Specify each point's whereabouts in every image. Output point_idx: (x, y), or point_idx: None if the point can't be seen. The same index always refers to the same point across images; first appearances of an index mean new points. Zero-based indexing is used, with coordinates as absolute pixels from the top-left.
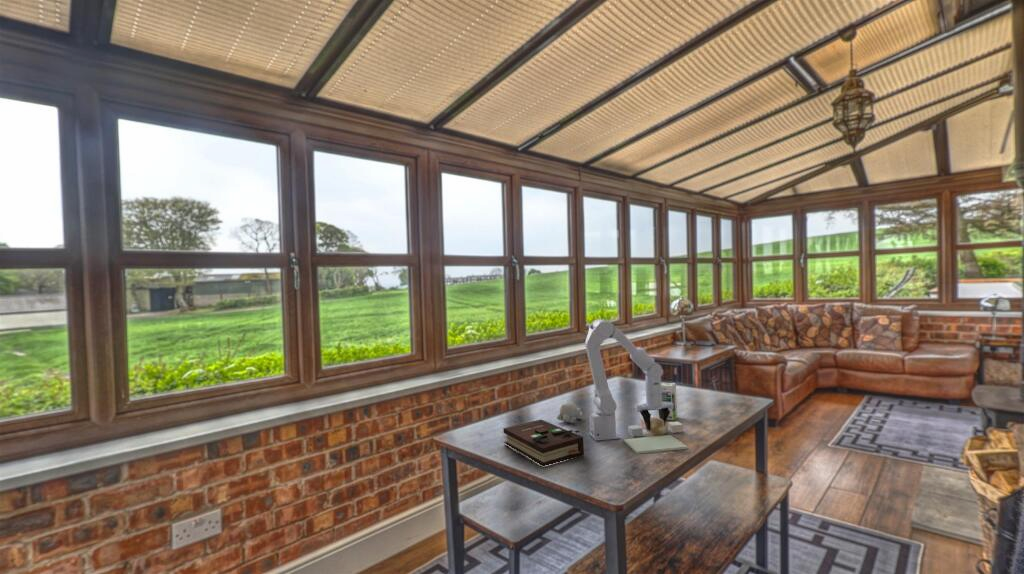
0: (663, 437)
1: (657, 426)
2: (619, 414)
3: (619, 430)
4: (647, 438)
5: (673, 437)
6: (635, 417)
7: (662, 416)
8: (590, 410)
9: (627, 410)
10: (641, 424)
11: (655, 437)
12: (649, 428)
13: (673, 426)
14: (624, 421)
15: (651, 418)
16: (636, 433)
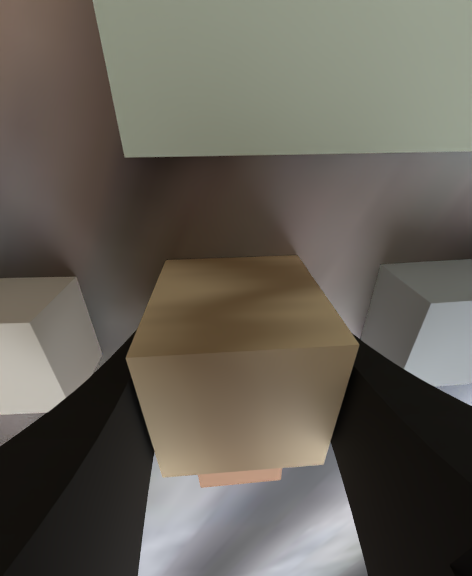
0: (251, 75)
1: (247, 304)
2: (286, 534)
3: (445, 388)
4: (465, 100)
5: (104, 23)
6: (234, 511)
7: (117, 462)
8: None
9: (229, 557)
10: None
11: (351, 110)
12: None
13: (24, 314)
14: (318, 482)
15: (266, 454)
16: (459, 274)
